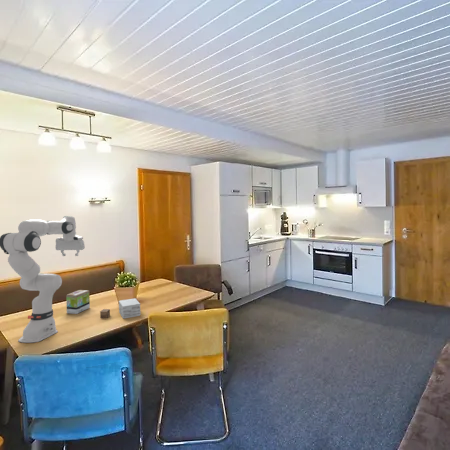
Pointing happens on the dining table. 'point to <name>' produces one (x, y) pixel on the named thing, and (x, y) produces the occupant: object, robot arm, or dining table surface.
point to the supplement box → (129, 308)
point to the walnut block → (105, 313)
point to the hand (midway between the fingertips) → (70, 256)
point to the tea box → (78, 301)
